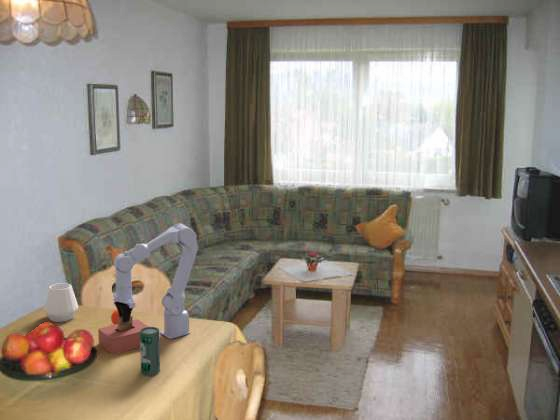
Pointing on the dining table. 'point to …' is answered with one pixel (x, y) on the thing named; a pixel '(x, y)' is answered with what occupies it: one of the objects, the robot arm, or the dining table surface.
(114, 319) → the clementine
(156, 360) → the can
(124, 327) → the token
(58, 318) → the white tapered hollow vessel
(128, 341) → the coin box
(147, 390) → the dining table surface
